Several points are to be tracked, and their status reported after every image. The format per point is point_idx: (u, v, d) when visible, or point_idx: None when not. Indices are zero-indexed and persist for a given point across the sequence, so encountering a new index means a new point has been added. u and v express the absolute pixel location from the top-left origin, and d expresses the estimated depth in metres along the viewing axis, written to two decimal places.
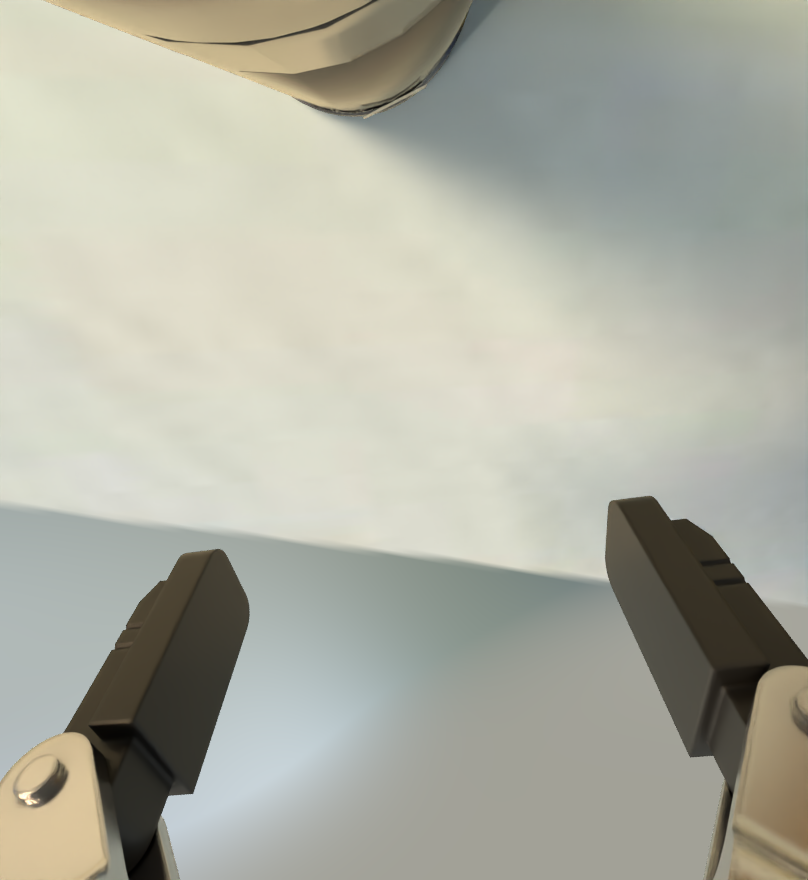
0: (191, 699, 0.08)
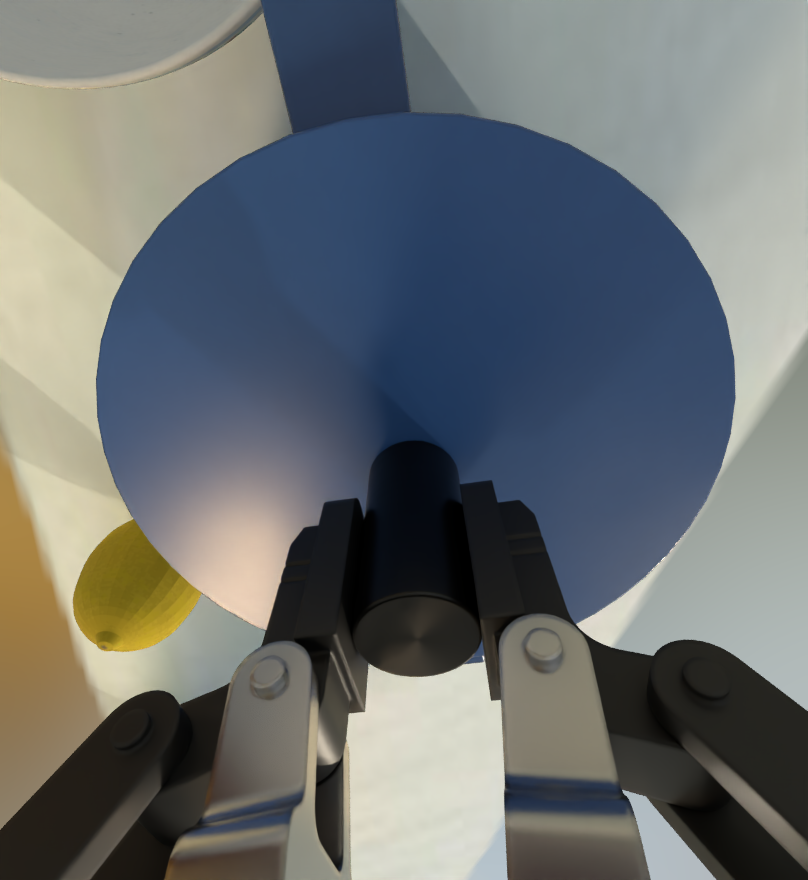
0: None
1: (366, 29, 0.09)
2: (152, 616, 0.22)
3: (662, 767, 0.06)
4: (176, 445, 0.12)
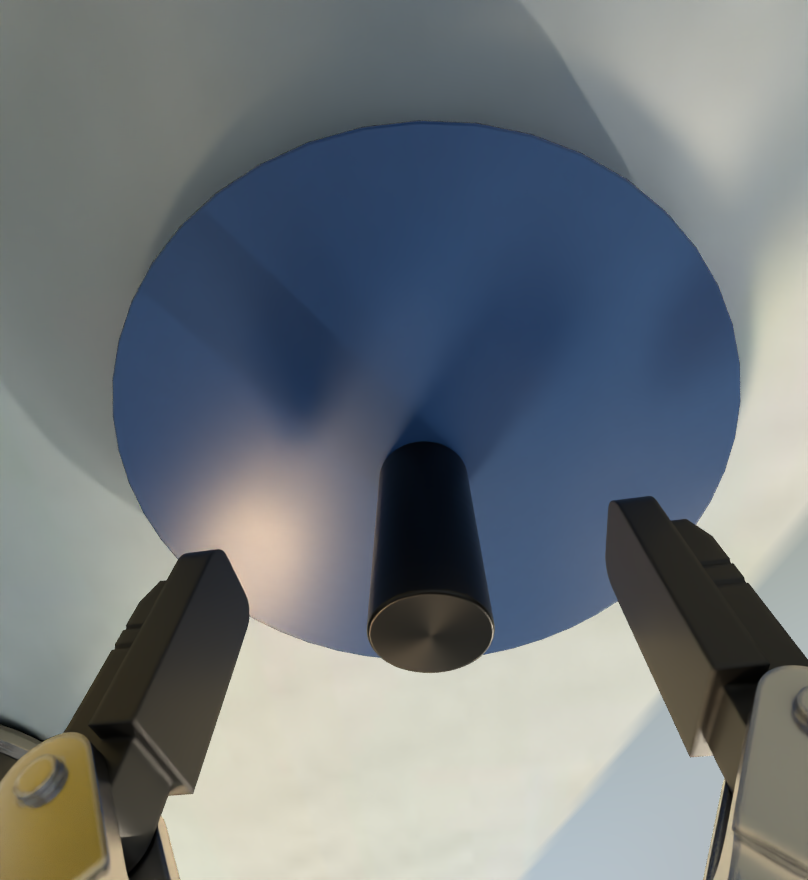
0: (191, 699, 0.08)
1: None
2: None
3: None
4: (190, 444, 0.12)
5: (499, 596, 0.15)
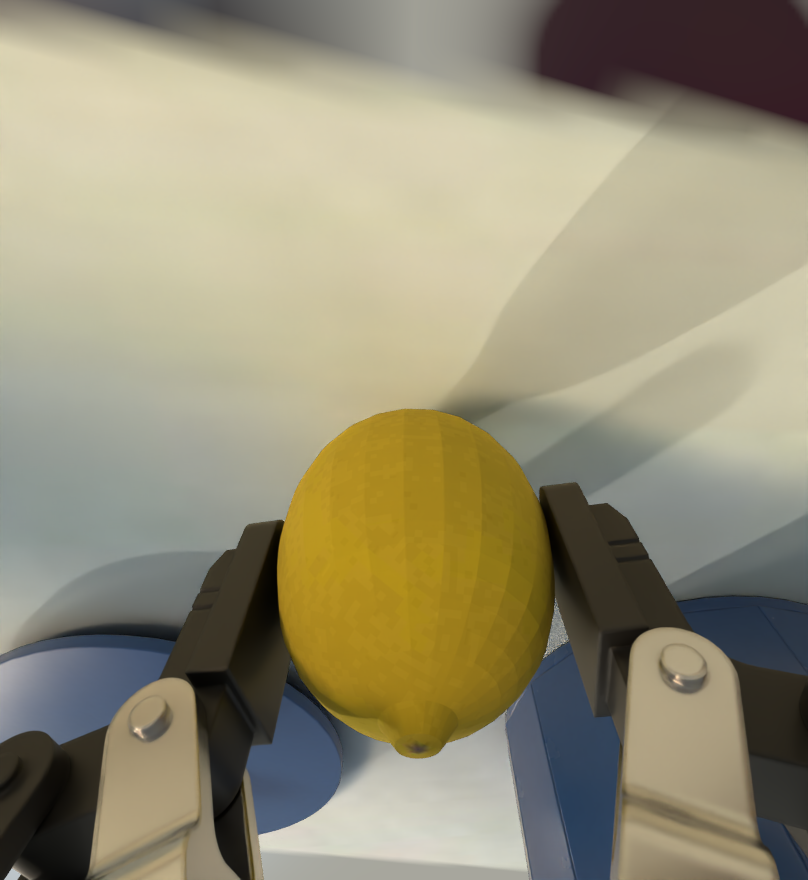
0: (267, 656, 0.09)
1: None
2: None
3: None
4: (141, 681, 0.18)
5: None
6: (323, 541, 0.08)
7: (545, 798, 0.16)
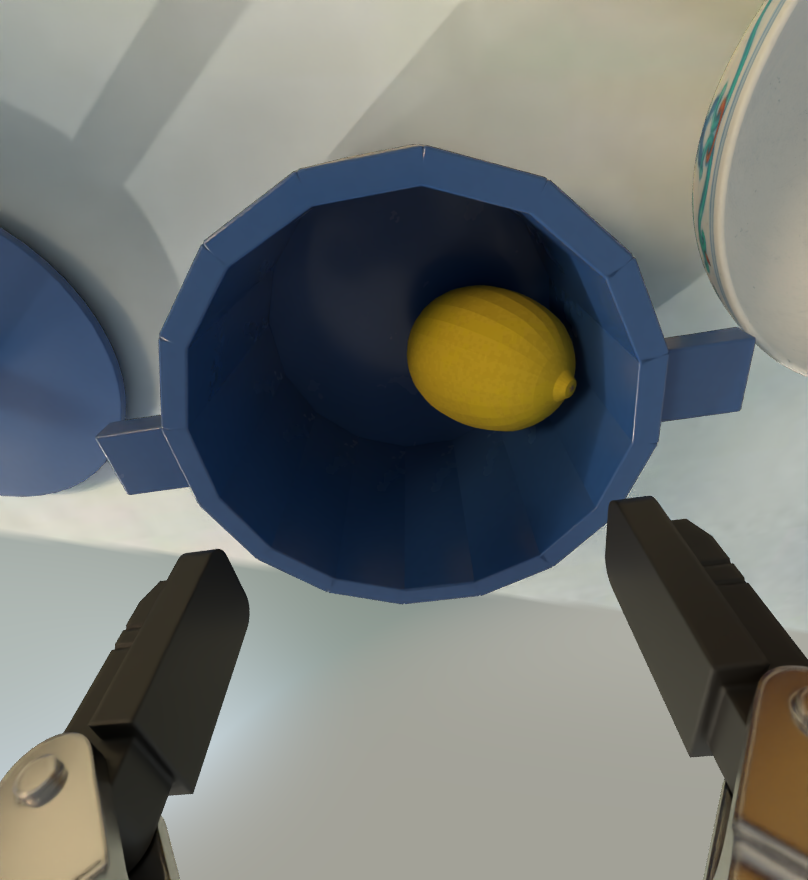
0: (191, 699, 0.08)
1: (716, 398, 0.15)
2: None
3: None
4: None
5: None
6: (501, 330, 0.17)
7: None
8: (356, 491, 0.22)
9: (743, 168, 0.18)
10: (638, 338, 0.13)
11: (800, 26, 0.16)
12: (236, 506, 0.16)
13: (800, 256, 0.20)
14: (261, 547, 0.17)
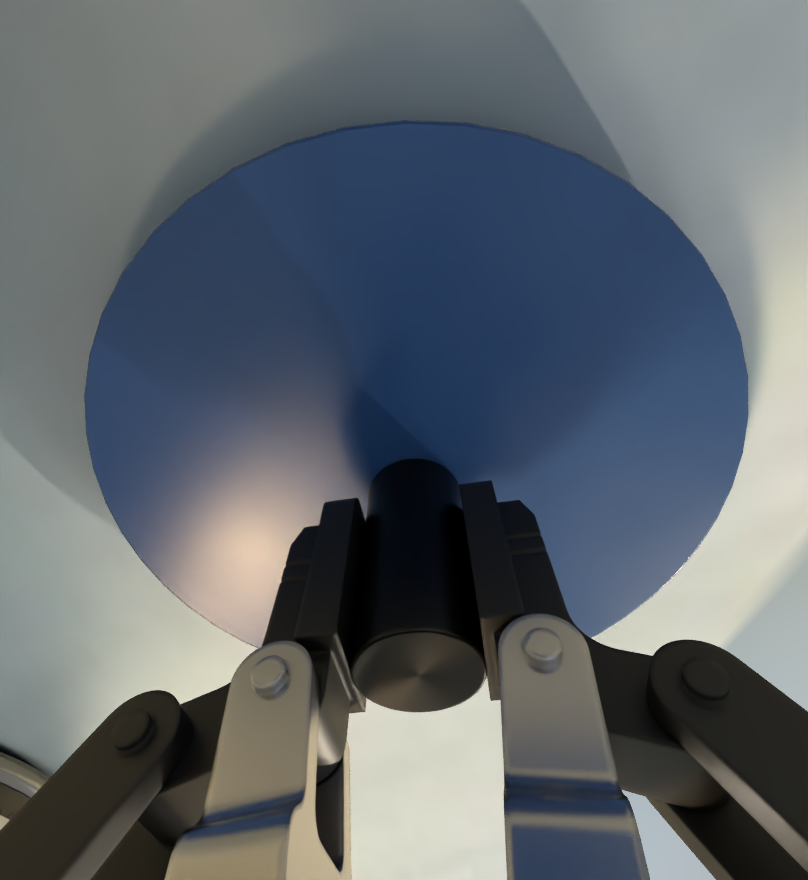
0: None
1: None
2: None
3: (662, 767, 0.06)
4: (169, 462, 0.12)
5: None
6: None
7: None
8: None
9: None
10: None
11: None
12: None
13: None
14: None
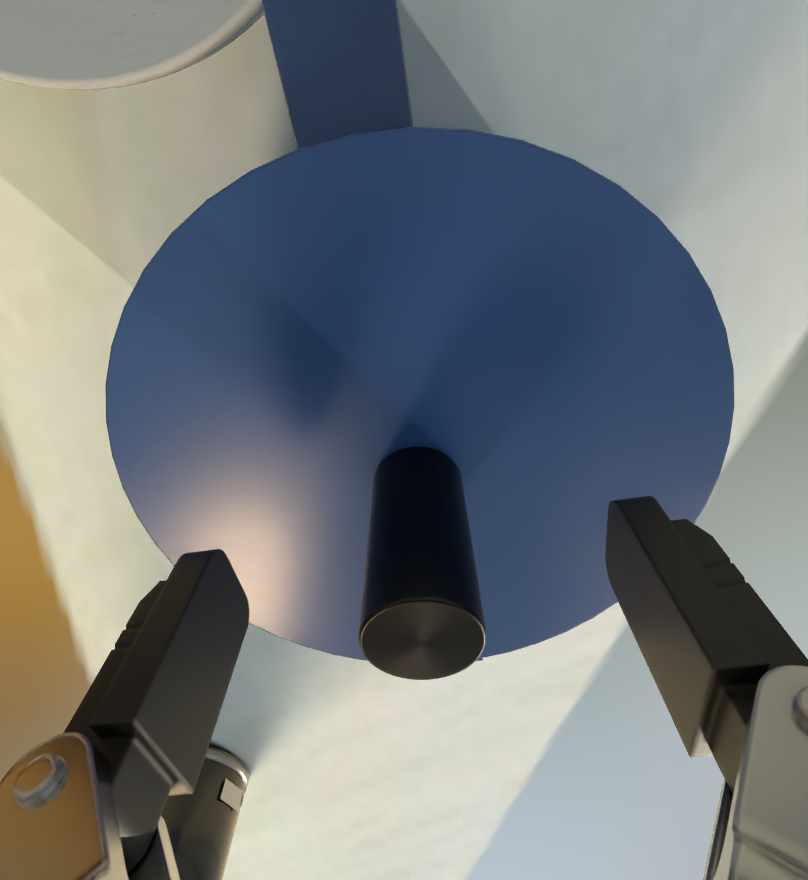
0: (191, 699, 0.08)
1: (366, 31, 0.09)
2: None
3: None
4: (184, 449, 0.12)
5: (495, 601, 0.15)
6: None
7: None
8: None
9: None
10: None
11: None
12: None
13: None
14: None
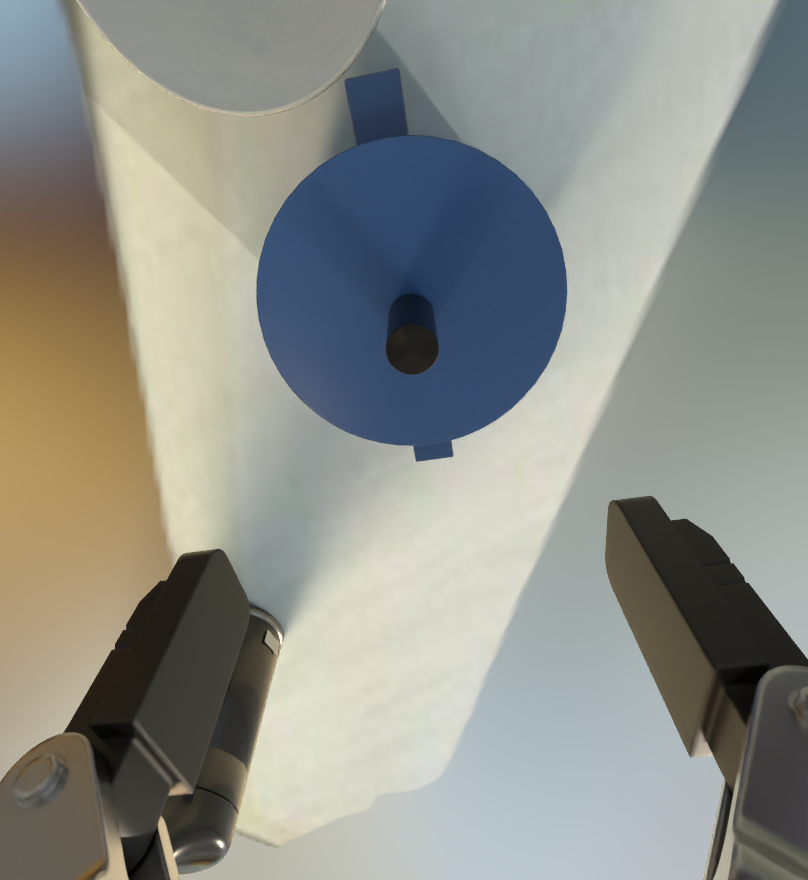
0: (191, 699, 0.08)
1: (388, 94, 0.21)
2: None
3: None
4: (293, 296, 0.24)
5: (455, 396, 0.27)
6: None
7: None
8: None
9: (285, 27, 0.26)
10: None
11: (206, 23, 0.26)
12: None
13: None
14: None
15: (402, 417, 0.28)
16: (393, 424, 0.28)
